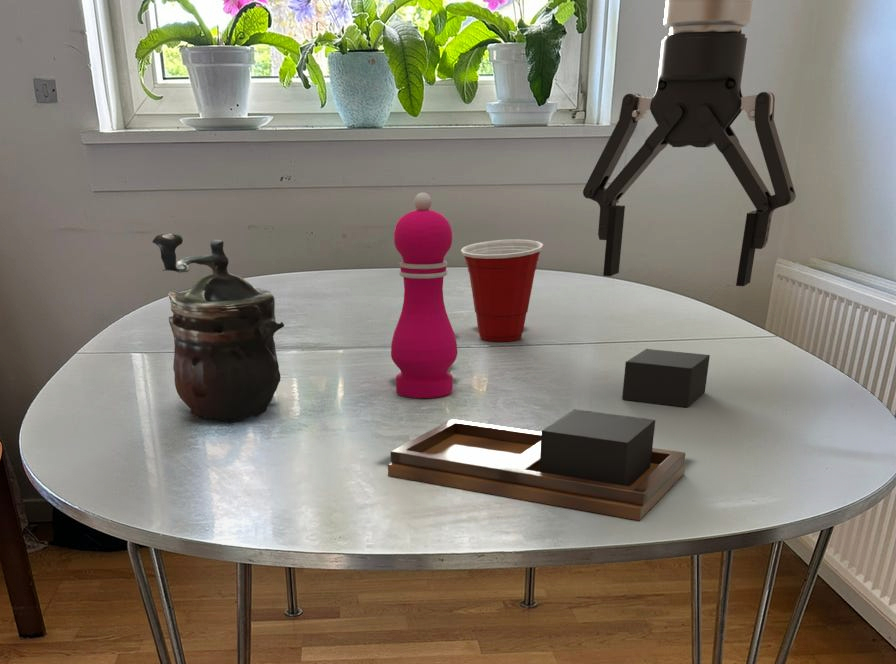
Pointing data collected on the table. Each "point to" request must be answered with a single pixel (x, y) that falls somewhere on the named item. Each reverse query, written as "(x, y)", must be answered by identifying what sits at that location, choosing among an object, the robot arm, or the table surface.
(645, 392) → the dark grey square block
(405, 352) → the pepper mill
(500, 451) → the divided wooden tray
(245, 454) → the table surface
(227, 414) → the coffee grinder
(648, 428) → the black square block
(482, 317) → the plastic cup
